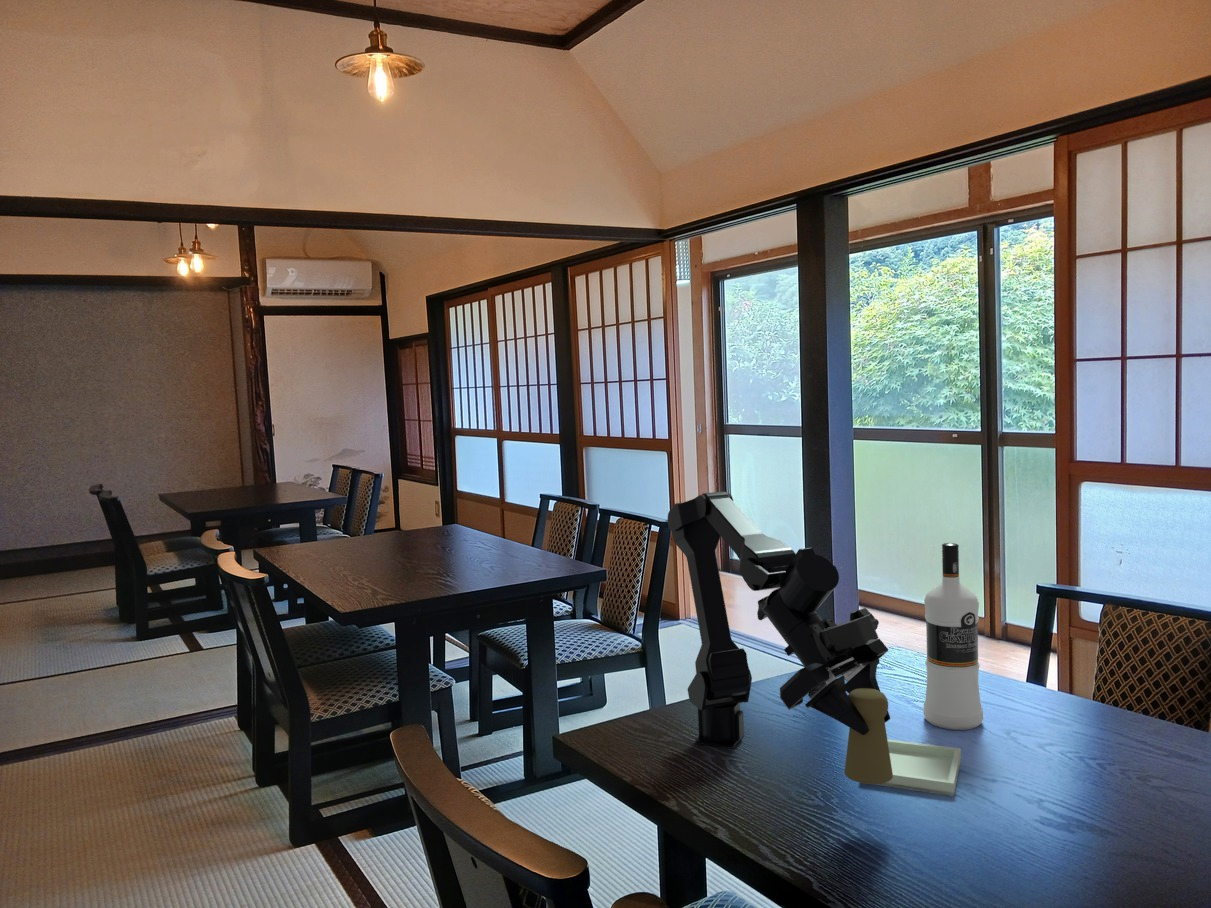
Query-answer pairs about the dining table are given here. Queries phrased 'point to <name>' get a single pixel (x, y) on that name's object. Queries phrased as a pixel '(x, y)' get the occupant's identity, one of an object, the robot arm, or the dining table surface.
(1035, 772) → the dining table surface
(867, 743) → the cork
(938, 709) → the vodka
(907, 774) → the tray
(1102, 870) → the dining table surface
